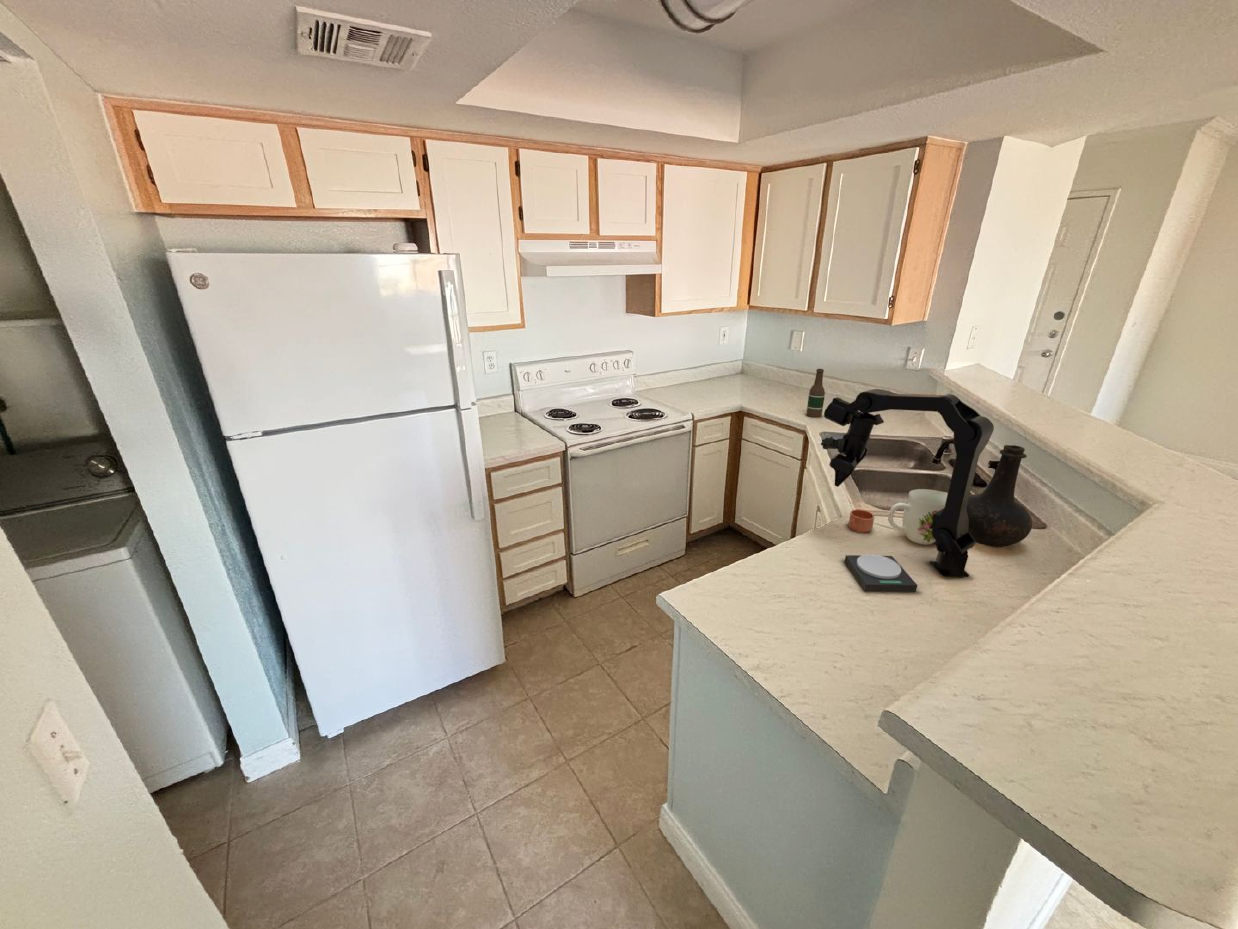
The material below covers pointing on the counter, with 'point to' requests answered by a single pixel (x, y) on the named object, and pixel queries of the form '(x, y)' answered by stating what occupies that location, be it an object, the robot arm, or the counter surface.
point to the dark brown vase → (1000, 505)
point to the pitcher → (919, 514)
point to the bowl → (861, 520)
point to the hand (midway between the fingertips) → (841, 480)
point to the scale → (880, 573)
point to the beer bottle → (816, 396)
